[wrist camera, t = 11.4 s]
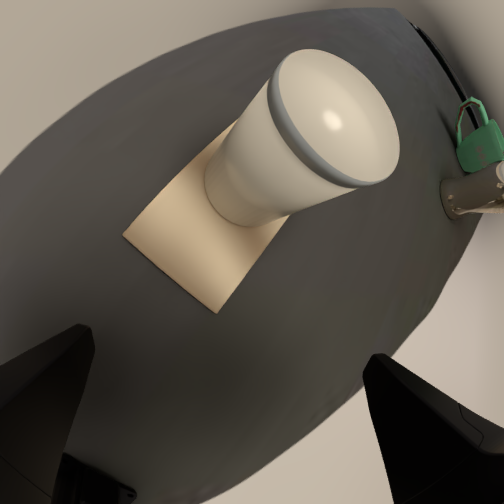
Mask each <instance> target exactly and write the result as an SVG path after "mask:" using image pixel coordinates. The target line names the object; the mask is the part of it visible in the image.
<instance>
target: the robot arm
mask: <svg viewBox="0 0 504 504" xmlns="http://www.w3.org/2000/svg"><path fill="white" fill-rule="evenodd" d="M94 353H95V345H94V340H93V335H92V330H91V328H90V327H89V326H87V325H83V324H76V325H74V326H72V327H71V328H69V329H67V330H65V331H63V332H61V333H59V334H57V335H56V336H54V337H52V338H50V339H48V340H46V341H45V342H43V343H41V344H39V345H37V346H35V347H34V348H32V349H30V350H28V351H26V352H24V353H23V354H21V355H19V356H17V357H15V358H14V359H12V360H10V361H8V362H6V363H5V364H3V365H1V366H0V504H131V503H132V502H133V501H134V500H135V499H136V498H137V494H136V491H135V490H133V489H130V488H128V487H126V486H124V485H122V484H119V483H117V482H115V481H113V480H111V479H109V478H107V477H105V476H103V475H101V474H99V473H97V472H96V471H94V470H92V469H90V468H88V467H87V466H85V465H83V464H82V463H80V462H78V461H77V460H75V459H73V458H72V457H70V456H68V455H66V454H63V450H64V447H65V444H66V441H67V438H68V435H69V432H70V429H71V426H72V423H73V420H74V417H75V414H76V411H77V409H78V406H79V403H80V401H81V398H82V395H83V392H84V389H85V385H86V381H87V377H88V374H89V370H90V367H91V363H92V360H93V357H94ZM363 382H364V387H365V391H366V396H367V401H368V407H369V411H370V415H371V419H372V422H373V425H374V429H375V432H376V436H377V439H378V443H379V446H380V450H381V454H382V457H383V461H384V464H385V469H386V473H387V476H388V481H389V485H390V489H391V493H392V498H393V501H394V504H504V428H502V427H500V426H498V425H496V424H494V423H492V422H490V421H489V420H487V419H484V418H483V417H481V416H479V415H478V414H476V413H474V412H472V411H471V410H469V409H467V408H466V407H464V406H463V405H461V404H460V403H458V402H457V401H455V400H454V399H452V398H450V397H449V396H448V395H446V394H445V393H443V392H441V391H440V390H438V389H437V388H435V387H434V386H432V385H431V384H429V383H428V382H426V381H425V380H423V379H422V378H420V377H419V376H417V375H416V374H414V373H413V372H411V371H410V370H408V369H407V368H405V367H404V366H402V365H401V364H399V363H397V362H396V361H395V360H393V359H392V358H390V357H389V356H387V355H386V354H383V353H379V354H373V355H372V356H371V358H370V360H369V361H368V363H367V365H366V367H365V369H364V371H363ZM64 459H65V460H67V461H65V460H64Z"/></svg>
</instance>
